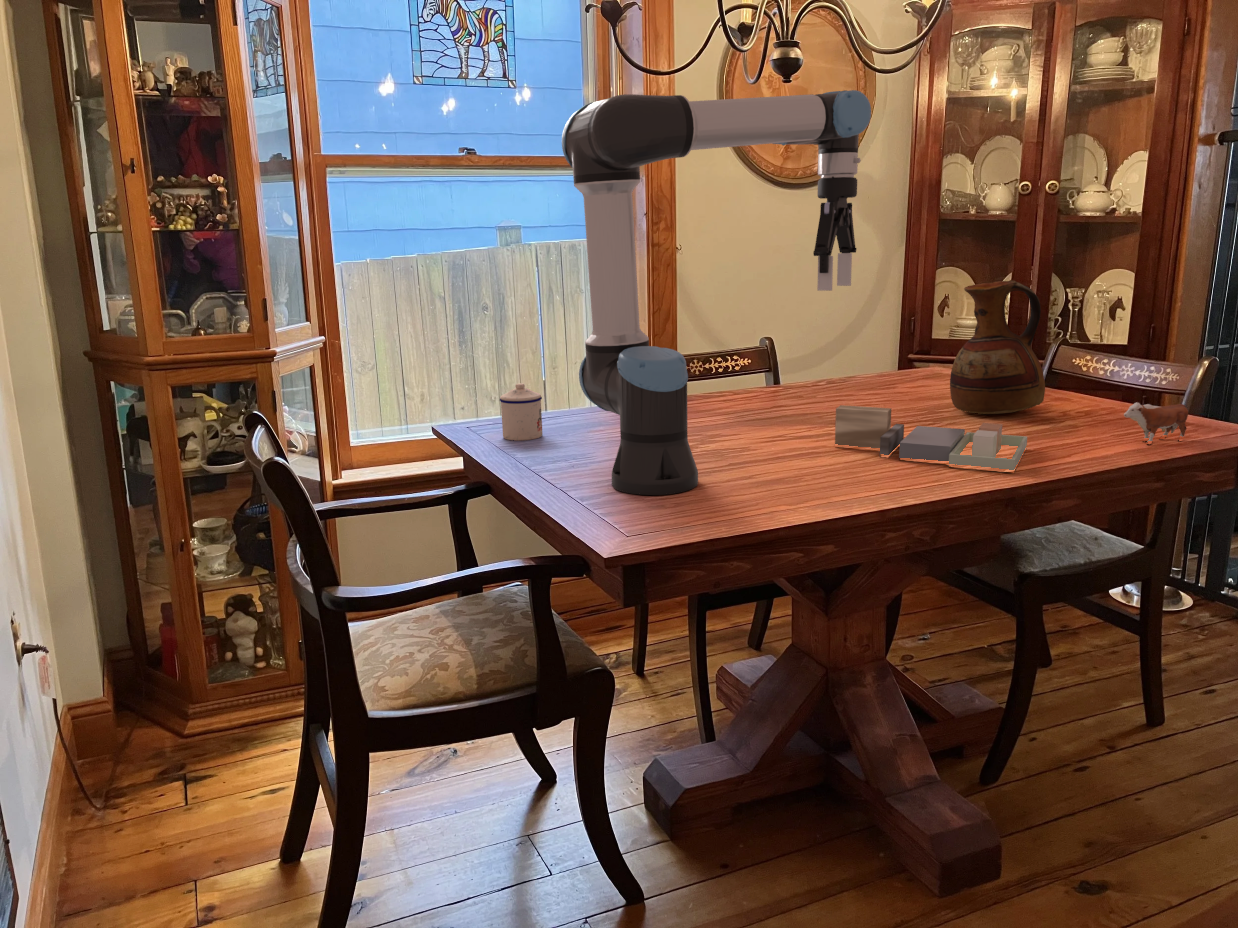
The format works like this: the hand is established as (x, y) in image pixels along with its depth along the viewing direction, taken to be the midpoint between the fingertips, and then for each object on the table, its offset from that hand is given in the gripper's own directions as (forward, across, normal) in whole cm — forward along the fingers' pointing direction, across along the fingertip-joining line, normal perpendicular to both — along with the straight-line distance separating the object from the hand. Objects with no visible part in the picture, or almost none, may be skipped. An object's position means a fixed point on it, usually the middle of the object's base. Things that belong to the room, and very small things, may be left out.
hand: (834, 288), depth 189 cm
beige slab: (+31, -6, -9) cm, 33 cm away
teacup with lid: (+31, -21, +63) cm, 73 cm away
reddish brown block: (+28, -2, -30) cm, 41 cm away
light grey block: (+28, -10, -30) cm, 42 cm away
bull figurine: (+31, +19, -59) cm, 69 cm away
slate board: (+31, -6, -22) cm, 38 cm away
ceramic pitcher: (+31, +39, -27) cm, 57 cm away
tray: (+31, -6, -32) cm, 45 cm away
